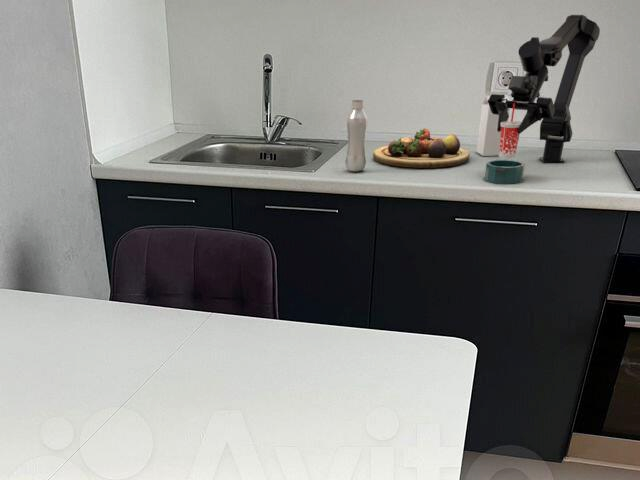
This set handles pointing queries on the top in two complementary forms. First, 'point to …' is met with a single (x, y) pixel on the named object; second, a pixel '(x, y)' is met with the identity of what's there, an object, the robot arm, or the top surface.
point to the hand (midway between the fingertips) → (508, 131)
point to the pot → (504, 171)
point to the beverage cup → (509, 137)
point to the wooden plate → (423, 151)
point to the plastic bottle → (356, 137)
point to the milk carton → (489, 129)
